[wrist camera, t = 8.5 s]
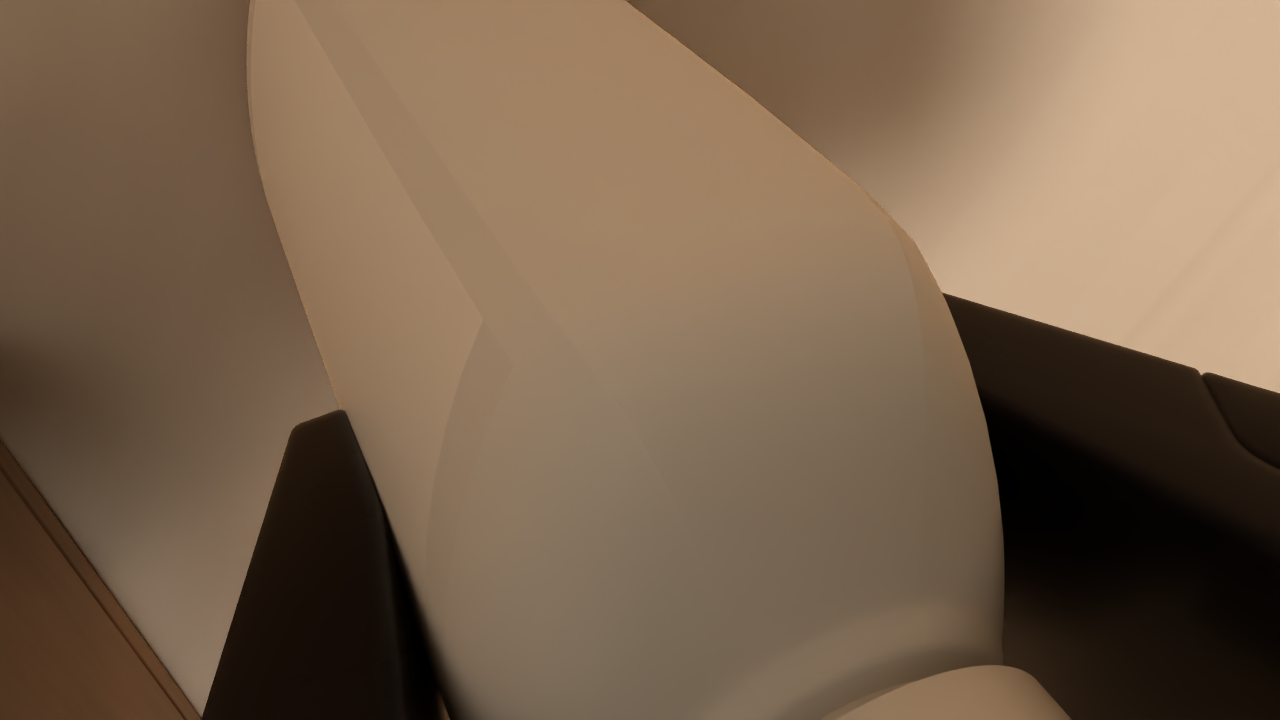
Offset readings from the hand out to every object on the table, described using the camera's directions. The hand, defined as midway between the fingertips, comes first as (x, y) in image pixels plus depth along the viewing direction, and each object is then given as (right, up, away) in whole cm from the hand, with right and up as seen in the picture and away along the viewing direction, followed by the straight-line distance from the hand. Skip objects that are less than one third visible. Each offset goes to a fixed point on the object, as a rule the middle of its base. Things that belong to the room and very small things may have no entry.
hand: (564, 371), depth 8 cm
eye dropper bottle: (-2, +3, +3) cm, 5 cm away
